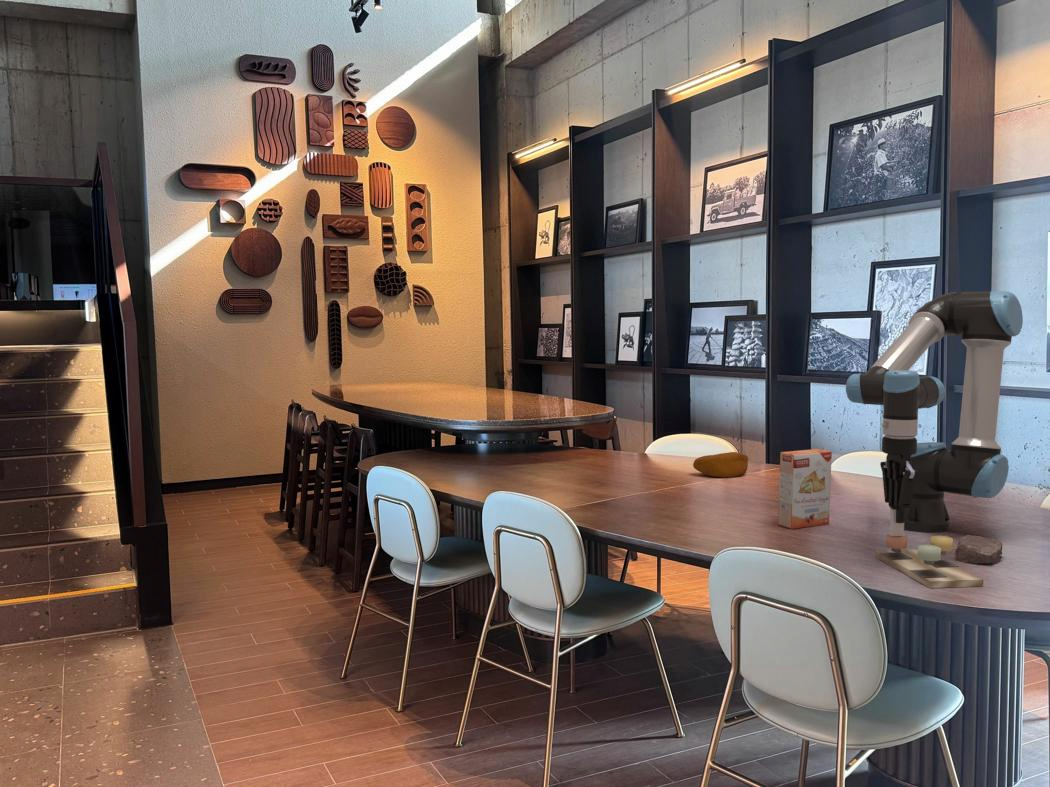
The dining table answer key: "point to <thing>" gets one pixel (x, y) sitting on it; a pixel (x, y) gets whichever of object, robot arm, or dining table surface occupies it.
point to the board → (929, 570)
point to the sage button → (929, 553)
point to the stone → (978, 550)
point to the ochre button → (942, 543)
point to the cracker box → (804, 488)
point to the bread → (722, 464)
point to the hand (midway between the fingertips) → (896, 535)
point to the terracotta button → (896, 542)
